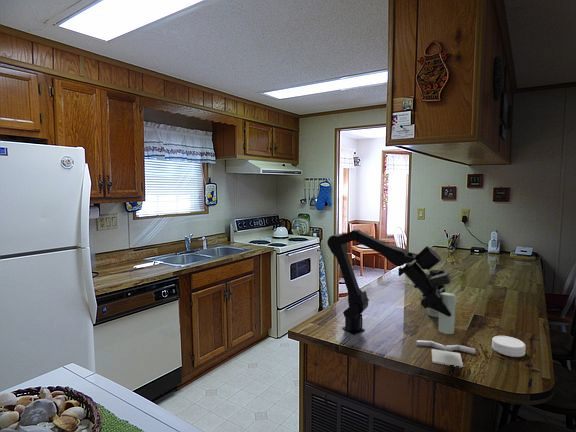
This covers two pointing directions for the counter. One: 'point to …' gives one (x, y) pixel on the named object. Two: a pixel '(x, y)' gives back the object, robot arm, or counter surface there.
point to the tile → (446, 358)
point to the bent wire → (445, 348)
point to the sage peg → (444, 321)
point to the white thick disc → (508, 346)
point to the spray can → (431, 311)
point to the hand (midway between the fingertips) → (451, 313)
